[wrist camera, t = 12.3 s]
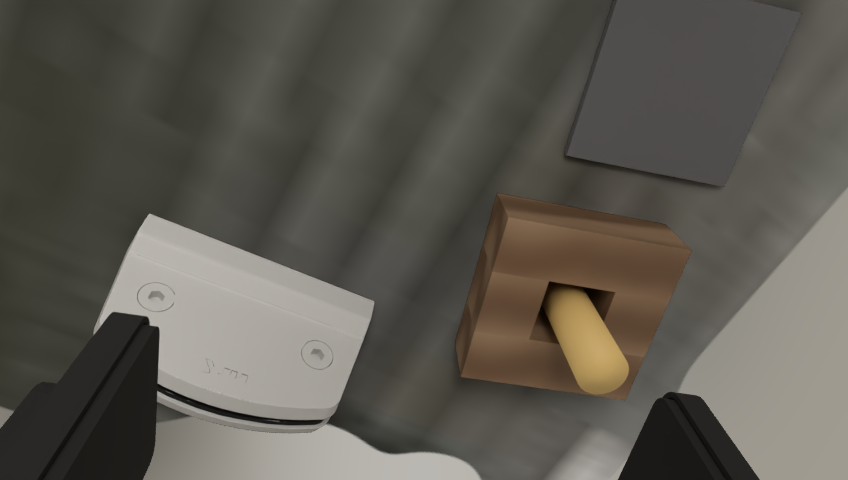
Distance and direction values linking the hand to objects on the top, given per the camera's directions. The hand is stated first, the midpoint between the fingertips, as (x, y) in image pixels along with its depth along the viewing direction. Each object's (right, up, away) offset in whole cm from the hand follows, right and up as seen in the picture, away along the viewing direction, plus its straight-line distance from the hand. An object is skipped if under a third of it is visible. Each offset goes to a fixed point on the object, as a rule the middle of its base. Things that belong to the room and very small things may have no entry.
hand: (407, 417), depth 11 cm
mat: (+16, +13, +26) cm, 33 cm away
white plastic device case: (-12, -1, +32) cm, 34 cm away
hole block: (+10, 0, +32) cm, 33 cm away
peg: (+10, 0, +32) cm, 33 cm away
